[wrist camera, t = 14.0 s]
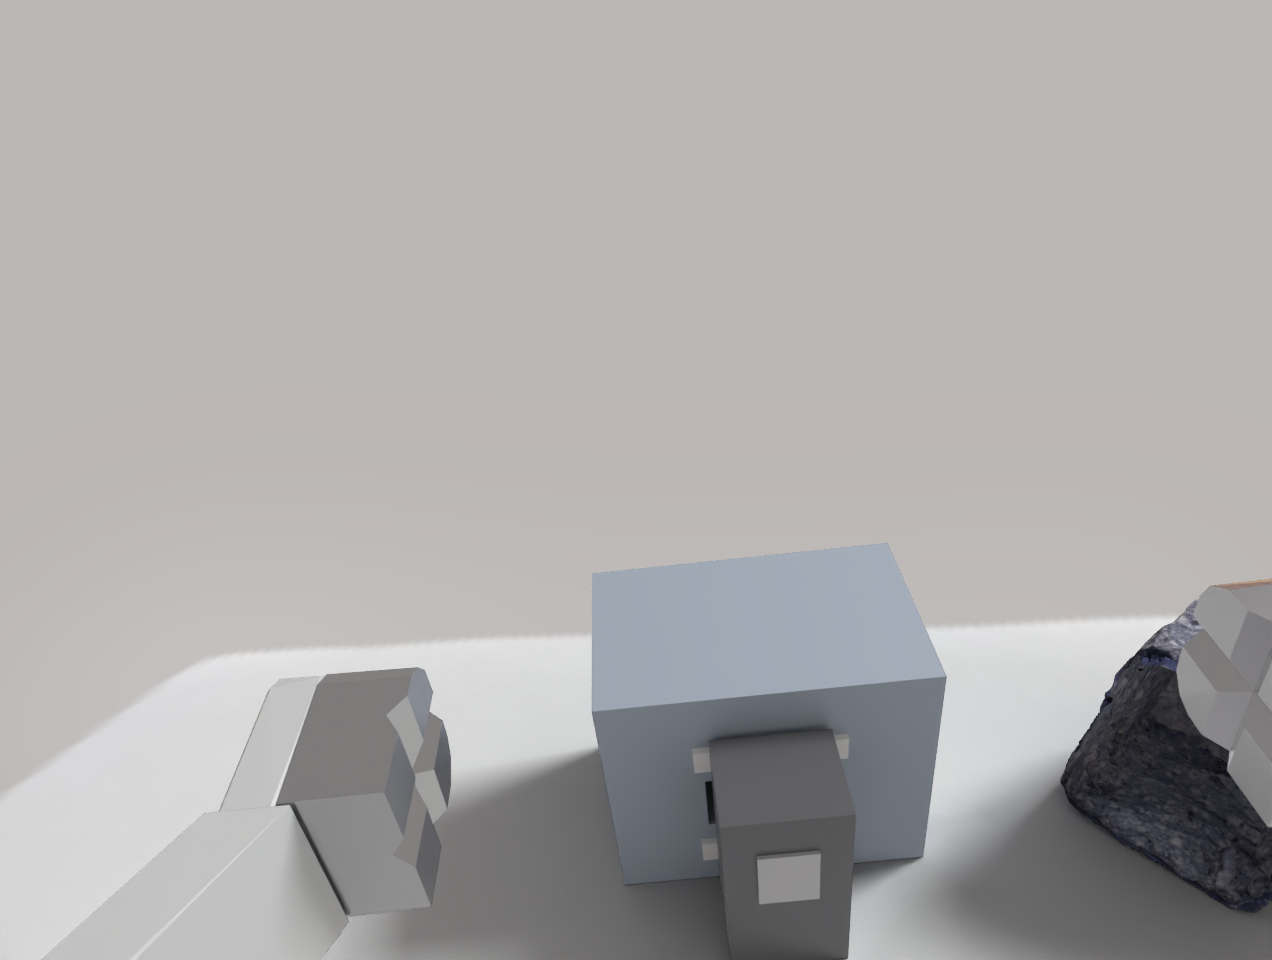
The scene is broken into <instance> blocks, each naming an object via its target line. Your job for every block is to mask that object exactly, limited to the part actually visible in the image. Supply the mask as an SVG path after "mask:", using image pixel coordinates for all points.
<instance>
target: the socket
mask: <svg viewBox="0 0 1272 960" xmlns="http://www.w3.org/2000/svg"><path fill="white" fill-rule="evenodd" d="M945 684H946V674H945V672H944V669H943V667H942V665H941V663H940V660H939V658H938V656H937V654H936V651H935V649H934V647H933V644H932V642H931V640H930V638H929V635H928V633H927V631H926V629H925V626H924V624H923V622H922V619H921V617H920V615H919V613H918V610H917V608H916V606H915V604H914V601H913V599H912V597H911V595H910V592H909V590H908V588H907V585H906V583H905V581H904V579H903V577H902V574H901V572H900V569H899V567H898V565H897V563H896V560H895V558H894V556H893V554H892V551H891V549H890V547H889V545H888V543H881V544H873V545H862V546H852V547H843V548H833V549H823V550H814V551H805V552H794V553H785V554H775V555H765V556H756V557H747V558H737V559H727V560H717V561H708V562H699V563H688V564H679V565H669V566H659V567H650V568H640V569H632V570H621V571H611V572H601V573H593V574H592V716H593V721H594V726H595V731H596V736H597V742H598V747H599V752H600V757H601V763H602V768H603V773H604V778H605V784H606V789H607V794H608V799H609V804H610V810H611V815H612V820H613V825H614V831H615V836H616V841H617V846H618V852H619V857H620V862H621V867H622V873H623V878H624V883H625V885H629V884H639V883H650V882H661V881H671V880H682V879H692V878H703V877H713V876H720V868H719V857H718V845H717V834H716V822H715V811H714V799H713V787H712V776H711V764H710V753H709V741H711V740H721V739H731V738H741V737H751V736H761V735H771V734H782V733H792V732H802V731H812V730H822V729H832V730H833V734H834V737H835V741H836V745H837V748H838V752H839V755H840V759H841V762H842V766H843V770H844V773H845V777H846V780H847V784H848V788H849V791H850V795H851V798H852V802H853V806H854V809H855V813H856V824H855V842H854V859H853V863H862V862H872V861H883V860H894V859H904V858H915V857H923V853H924V846H925V838H926V830H927V823H928V815H929V807H930V799H931V792H932V784H933V776H934V769H935V761H936V753H937V746H938V738H939V730H940V723H941V715H942V707H943V700H944V692H945Z"/></svg>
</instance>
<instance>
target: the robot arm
mask: <svg viewBox="0 0 1272 960" xmlns="http://www.w3.org/2000/svg"><path fill="white" fill-rule="evenodd" d="M1193 615H1194V617H1195V618H1196V620H1197V621H1198V623H1199V624H1200V626H1201V627H1202V628H1203V629H1202V630H1201V631H1200V632H1198V633H1197V634H1196V635H1195V636H1194V637H1193V638H1192V639H1190V640H1189V641H1188V642H1187V643H1186V644H1185V645H1183V647H1182V650H1181V654H1180V658H1179V662H1178V665H1177V669H1176V671H1177V679H1178V686H1179V694H1180V697H1181V699H1182V702H1183V704H1184V706H1185V709H1186V711H1187V714H1188V715H1189V717H1190V718H1191V720H1192V721H1193V723H1194V724H1195V726H1196V727H1197V729H1198V730H1199V732H1200V733H1201V734H1202V735H1203V736H1205V737H1206V738H1208V739H1210V740H1212V741H1213V742H1215V743H1217V744H1218V745H1220V746H1222V747H1224V748H1225V749H1227V750H1229V751H1230V753H1229V760H1228V768H1227V771H1228V773H1229V774H1230V775H1231V777H1232V778H1233V779H1234V781H1235V782H1236V784H1237V785H1238V786H1239V788H1240V789H1241V791H1242V792H1243V793H1244V795H1245V796H1246V798H1247V799H1248V800H1249V802H1250V803H1251V804H1252V806H1253V807H1254V809H1255V810H1256V811H1257V813H1258V814H1259V816H1260V817H1261V818H1262V820H1263V821H1264V823H1265V824H1266V825H1267V827H1272V579H1266V580H1258V581H1248V582H1239V583H1230V584H1221V585H1213V586H1210V587H1208V588H1207V589H1206V590H1205V591H1204V592H1203V593H1202V594H1201V595H1200V596H1199V599H1198V602H1197V605H1196V608H1195V610H1194V613H1193ZM432 694H433V691H432V688H431V686H430V683H429V680H428V678H427V675H426V672H425V670H423V669H420V668H418V667H416V668H403V669H391V670H378V671H365V672H352V673H339V674H327V675H326V676H314V677H300V678H286V679H279V680H278V681H277V682H276V683H275V684H274V685H273V686H272V687H271V688H270V689H269V691H268V693H267V695H266V698H265V700H264V702H263V705H262V707H261V710H260V712H259V715H258V717H257V720H256V722H255V724H254V727H253V729H252V732H251V734H250V737H249V739H248V742H247V744H246V746H245V749H244V751H243V754H242V756H241V759H240V761H239V764H238V766H237V768H236V771H235V773H234V776H233V778H232V781H231V783H230V785H229V788H228V790H227V793H226V795H225V798H224V800H223V803H222V805H221V807H220V810H219V811H218V812H210V813H204V814H203V815H202V816H201V817H199V818H198V819H197V820H196V821H195V822H194V823H193V824H192V825H191V826H189V827H188V828H187V829H186V830H185V831H184V832H183V833H182V834H181V835H179V836H178V837H177V838H176V839H175V840H174V841H173V842H172V843H171V844H169V845H168V846H167V847H166V848H165V849H164V850H163V851H162V852H160V853H159V854H158V855H157V856H156V857H155V858H154V859H153V860H152V861H150V862H149V863H148V864H147V865H146V866H145V867H144V868H143V869H142V870H140V871H139V872H138V873H137V874H136V875H135V876H134V877H133V878H132V879H130V880H129V881H128V882H127V883H126V884H125V885H124V886H123V887H122V888H120V889H119V890H118V891H117V892H116V893H115V894H114V895H113V896H111V897H110V898H109V899H108V900H107V901H106V902H105V903H104V904H103V905H101V906H100V907H99V908H98V909H97V910H96V911H95V912H94V913H93V914H91V915H90V916H89V917H88V918H87V919H86V920H85V921H84V922H83V923H81V924H80V925H79V926H78V927H77V928H76V929H75V930H74V931H73V932H71V933H70V934H69V935H68V936H67V937H66V938H65V939H64V940H63V941H61V942H60V943H59V944H58V945H57V946H56V947H55V948H54V949H52V950H51V951H50V952H49V953H48V954H47V955H46V956H45V957H44V958H42V959H41V960H322V958H323V957H324V955H325V954H326V953H327V951H328V950H329V949H330V947H331V946H332V944H333V943H334V942H335V940H336V939H337V938H338V936H339V935H340V933H341V932H342V931H343V929H344V928H345V927H346V925H347V924H348V923H349V920H348V918H347V917H350V916H358V915H366V914H375V913H383V912H391V911H399V910H407V909H415V908H423V907H431V905H432V899H433V893H434V887H435V881H436V875H437V869H438V863H439V857H440V851H441V845H440V842H439V839H438V836H437V834H436V831H435V828H434V825H433V824H434V823H435V822H436V821H437V820H438V819H439V818H440V816H441V815H442V814H443V813H444V812H445V811H446V810H447V807H448V800H449V793H450V786H451V756H450V749H449V743H448V737H447V734H446V730H445V727H444V724H443V721H442V720H441V719H439V718H438V717H436V716H435V715H433V714H432V713H431V712H429V709H430V704H431V699H432Z"/></svg>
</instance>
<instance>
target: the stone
mask: <svg viewBox="0 0 1272 960" xmlns="http://www.w3.org/2000/svg"><path fill="white" fill-rule="evenodd" d="M1197 602H1198V600H1195V601H1194V602H1193V603H1192V604H1191V605H1190V606H1188V607H1187V609H1186V611H1185V612H1184V613H1183V614H1181V615H1180V616H1179V617H1178V618H1177V619H1176V620H1175V621H1174V622H1172V623H1170V624H1168V625H1166V626H1164V627H1162V628H1161V629H1160V630H1159V631H1157V632H1156V633H1155V634H1154V635H1153V636H1152V637H1151V638H1150V639H1149V640H1148V641H1147V642H1146V643H1145V644H1144V645H1143V646H1142V647H1141V649H1140V650H1139V651H1138V652H1137V653H1136V654H1135V656H1133V657H1132V658H1130V659H1129V660H1128V661H1127V662H1126V664H1125V665H1124V666H1123V667H1122V668H1121V669H1120V670H1119V672H1118V673H1117V674H1116V675H1115V679H1114V683H1113V686H1112V687H1111V689H1110V690H1109V691H1107V692H1106V693H1105V699H1104V700H1103V703H1102V705H1101V707H1100V713H1098V716H1096V718H1095V719H1094V721H1093V723H1091V725H1090V728H1089V729H1088V730H1087V732H1086V733H1085V734H1084V736H1083V737H1082V739H1081V740H1080V741H1079V745H1078V746H1077V747H1076V749H1075V750H1074V751H1073V752H1072V754H1071V756H1070V758H1069V759H1068V762H1067V764H1066V768H1065V771H1064V773H1063V775H1062V777H1061V781H1060V782H1061V784H1062V785H1063V786H1064V788H1065V793H1066V795H1067V798H1068V800H1069V802H1070V803H1071V804H1072V805H1073V806H1074V807H1075V808H1076V809H1078V810H1079V811H1080V812H1081V813H1083V814H1084V815H1086V816H1088V817H1089V818H1090V819H1091V820H1092V821H1094V822H1095V823H1097V824H1099V825H1102V826H1104V827H1106V828H1107V829H1108V830H1109V831H1110V833H1111V834H1112V835H1113V836H1114V837H1115V838H1116V839H1117V840H1119V841H1120V842H1122V843H1124V845H1125V844H1126V845H1128V846H1130V847H1132V848H1134V849H1136V848H1137V849H1138V850H1139V851H1141V852H1144V853H1145V854H1146V855H1147V856H1148V857H1149V858H1151V859H1152V860H1154V861H1156V862H1157V863H1158V862H1159V863H1160V864H1162V865H1164V866H1165V867H1167V868H1168V869H1169V870H1171V871H1172V872H1173V873H1175V874H1176V875H1178V876H1179V877H1181V878H1183V879H1184V880H1186V881H1188V882H1190V883H1192V884H1194V885H1195V886H1196V887H1198V888H1199V889H1201V890H1203V891H1207V892H1208V894H1209V895H1210V896H1211V897H1213V898H1214V899H1217V900H1219V901H1220V902H1222V903H1224V905H1225V906H1227V907H1229V908H1233V909H1239V910H1242V911H1247V912H1252V913H1255V912H1258V911H1260V910H1261V909H1262V906H1267V904H1268V903H1269V900H1271V901H1272V827H1267V825H1266V824H1265V823H1264V821H1263V820H1262V818H1261V817H1260V816H1259V814H1258V813H1257V811H1256V810H1255V809H1254V807H1253V806H1252V804H1251V803H1250V802H1249V800H1248V799H1247V798H1246V796H1245V795H1244V793H1243V792H1242V791H1241V789H1240V788H1239V786H1238V785H1237V784H1236V782H1235V781H1234V779H1233V778H1232V777H1231V775H1230V774H1229V773H1228V771H1227V768H1228V760H1229V753H1230V751H1229V750H1227V749H1225V748H1224V747H1222V746H1220V745H1218V744H1217V743H1215V742H1213V741H1212V740H1210V739H1208V738H1206V737H1205V736H1203V735H1202V734H1201V733H1200V732H1199V730H1198V729H1197V727H1196V726H1195V724H1194V723H1193V721H1192V720H1191V718H1190V717H1189V715H1188V714H1187V711H1186V709H1185V706H1184V704H1183V702H1182V699H1181V697H1180V694H1179V686H1178V679H1177V671H1176V669H1177V665H1178V662H1179V658H1180V654H1181V650H1182V647H1183V645H1185V644H1186V643H1187V642H1188V641H1189V640H1190V639H1192V638H1193V637H1194V636H1195V635H1196V634H1197V633H1198V632H1200V631H1201V630H1202V629H1203V628H1202V627H1201V626H1200V624H1199V623H1198V621H1197V620H1196V618H1195V617H1194V615H1193V613H1194V610H1195V608H1196V605H1197ZM1218 758H1220V759H1222V760H1223V761H1224V764H1223V766H1222V768H1217V767H1215V766H1214V765H1213V763H1214V762H1215V761H1216V760H1217V759H1218ZM1105 781H1108V782H1109V783H1111V784H1113V785H1114V786H1112V785H1109V784H1106V786H1105V787H1104V786H1099V783H1102V782H1105ZM1259 858H1260V861H1259V860H1258V859H1259ZM1245 888H1247V889H1248V891H1249V892H1250V893H1251V894H1252V896H1251V895H1250V894H1249V892H1248V891H1247V890H1246V889H1245ZM1216 889H1217V890H1218V891H1216Z"/></svg>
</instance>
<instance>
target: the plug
mask: <svg viewBox="0 0 1272 960" xmlns="http://www.w3.org/2000/svg"><path fill="white" fill-rule="evenodd" d="M709 753H710V764H711V776H712V787H713V799H714V811H715V822H716V834H717V845H718V857H719V868H720V880H721V889H722V897H723V905H724V913H725V921H726V929H727V937H728V945H729V953H730V960H834V959H845V958H848V948H849V930H850V913H851V895H852V877H853V859H854V842H855V824H856V813H855V809H854V806H853V802H852V798H851V795H850V791H849V788H848V784H847V780H846V777H845V773H844V770H843V766H842V762H841V759H840V755H839V752H838V748H837V745H836V741H835V737H834V734H833V730H832V729H822V730H812V731H802V732H792V733H782V734H771V735H761V736H751V737H741V738H731V739H721V740H711V741H709Z"/></svg>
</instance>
